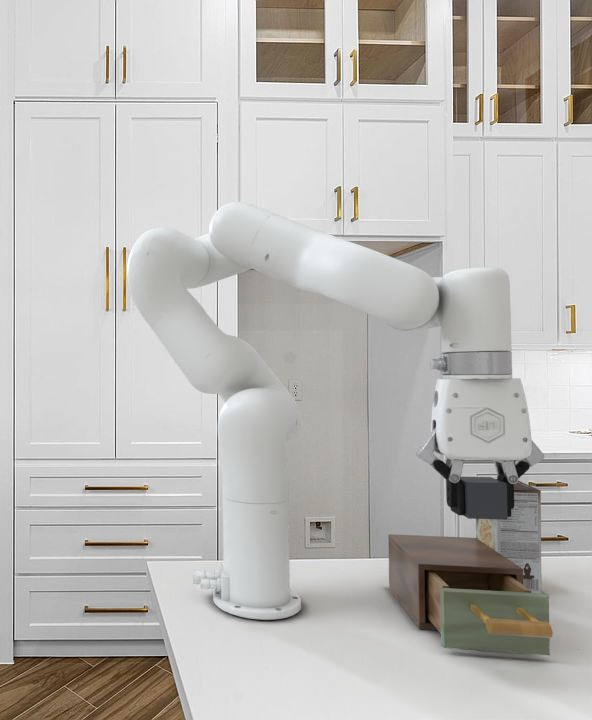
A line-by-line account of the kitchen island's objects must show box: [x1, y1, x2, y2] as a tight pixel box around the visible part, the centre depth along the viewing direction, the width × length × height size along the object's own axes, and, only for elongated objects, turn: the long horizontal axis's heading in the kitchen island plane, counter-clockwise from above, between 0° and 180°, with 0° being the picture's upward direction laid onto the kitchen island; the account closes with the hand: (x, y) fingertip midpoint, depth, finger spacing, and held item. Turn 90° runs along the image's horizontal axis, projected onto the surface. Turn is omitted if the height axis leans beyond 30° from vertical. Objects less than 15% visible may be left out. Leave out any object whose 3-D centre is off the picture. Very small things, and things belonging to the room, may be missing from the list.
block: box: [461, 476, 508, 520], centre depth 75 cm, size 4×4×4 cm
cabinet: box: [387, 533, 523, 631], centre depth 86 cm, size 15×13×9 cm
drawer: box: [425, 570, 554, 656], centre depth 75 cm, size 20×11×7 cm, turn 170°
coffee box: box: [475, 480, 543, 593], centre depth 96 cm, size 9×6×16 cm
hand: (480, 512), depth 75 cm, fingers closed on block, 4 cm apart
